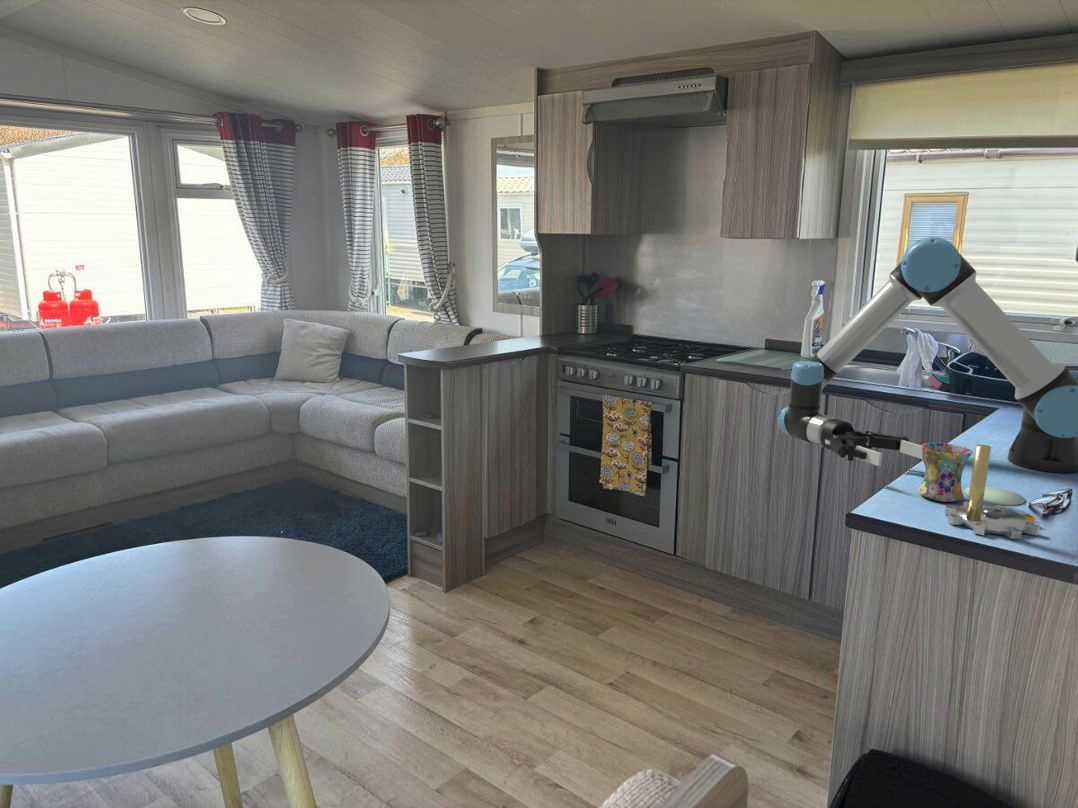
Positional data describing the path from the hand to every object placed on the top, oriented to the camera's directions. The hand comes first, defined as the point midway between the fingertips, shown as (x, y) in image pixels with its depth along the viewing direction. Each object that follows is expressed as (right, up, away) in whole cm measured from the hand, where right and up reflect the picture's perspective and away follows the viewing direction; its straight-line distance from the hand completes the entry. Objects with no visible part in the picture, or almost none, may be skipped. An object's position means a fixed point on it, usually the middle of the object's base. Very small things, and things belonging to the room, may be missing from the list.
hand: (903, 456), depth 174 cm
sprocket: (+6, -11, -23) cm, 26 cm away
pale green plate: (+16, -8, -7) cm, 19 cm away
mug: (+4, -8, -7) cm, 11 cm away
